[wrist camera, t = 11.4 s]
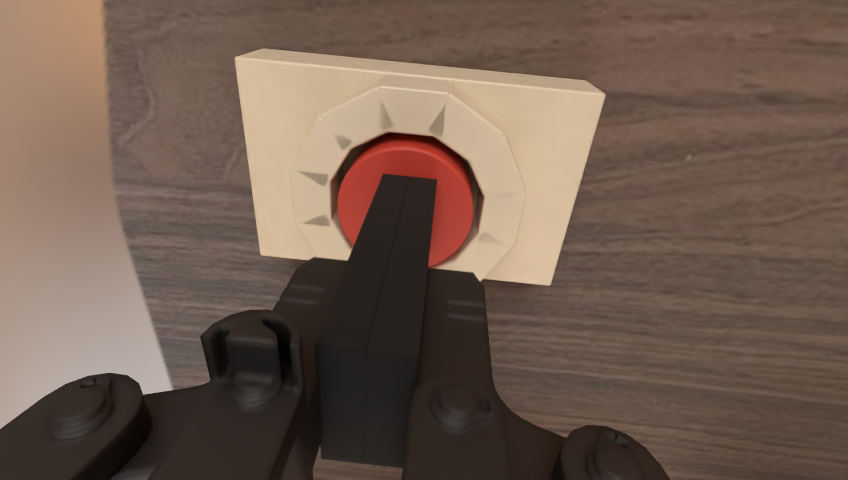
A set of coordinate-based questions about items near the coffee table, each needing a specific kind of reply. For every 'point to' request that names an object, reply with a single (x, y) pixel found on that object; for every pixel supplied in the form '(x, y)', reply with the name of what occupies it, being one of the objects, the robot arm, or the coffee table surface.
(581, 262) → the coffee table surface
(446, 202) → the bell button
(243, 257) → the coffee table surface
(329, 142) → the beige button housing
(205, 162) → the coffee table surface
